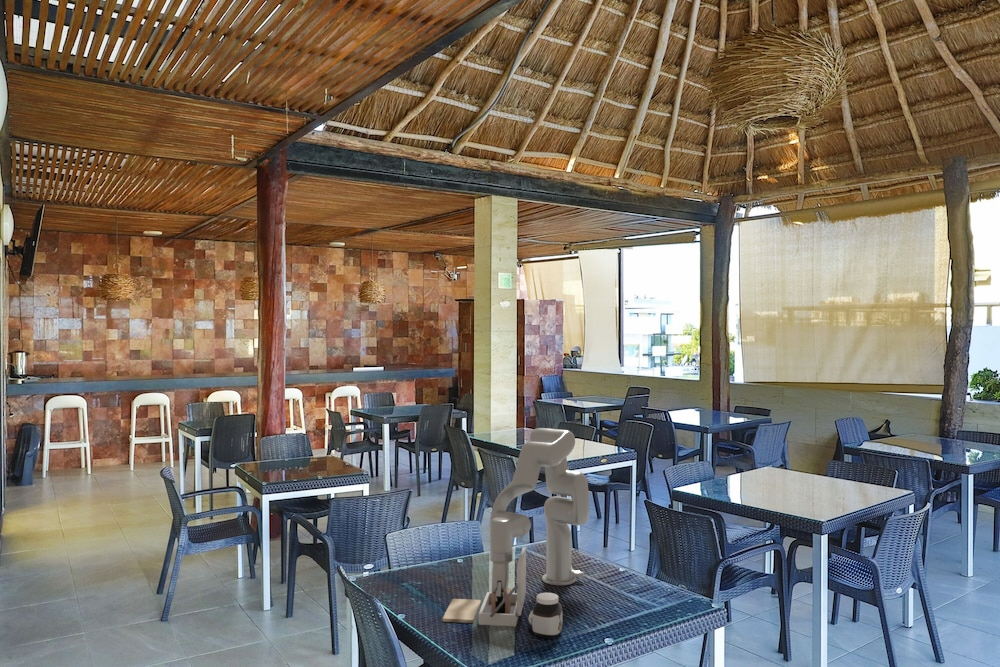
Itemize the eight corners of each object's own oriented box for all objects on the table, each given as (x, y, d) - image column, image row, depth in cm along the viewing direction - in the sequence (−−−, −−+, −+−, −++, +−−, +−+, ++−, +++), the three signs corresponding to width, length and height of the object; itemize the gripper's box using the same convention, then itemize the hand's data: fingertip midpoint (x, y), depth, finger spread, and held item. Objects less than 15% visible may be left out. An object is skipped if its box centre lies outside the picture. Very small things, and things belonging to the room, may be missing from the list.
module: (511, 609, 237) (511, 588, 237) (509, 614, 232) (509, 593, 232) (493, 608, 238) (493, 587, 238) (491, 614, 233) (491, 592, 233)
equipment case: (525, 603, 244) (525, 547, 244) (520, 627, 223) (520, 565, 223) (487, 602, 245) (487, 545, 246) (478, 625, 225) (478, 564, 225)
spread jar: (550, 642, 212) (550, 603, 212) (518, 634, 218) (518, 596, 218) (568, 629, 222) (568, 592, 222) (537, 621, 228) (537, 585, 228)
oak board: (481, 602, 245) (481, 599, 245) (472, 623, 227) (472, 619, 227) (452, 601, 246) (452, 598, 246) (442, 621, 228) (442, 618, 228)
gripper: (493, 547, 244) (493, 600, 244) (486, 563, 227) (486, 619, 227) (514, 548, 243) (515, 601, 243) (509, 564, 226) (509, 620, 226)
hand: (501, 609), depth 235 cm, fingers closed on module, 5 cm apart
